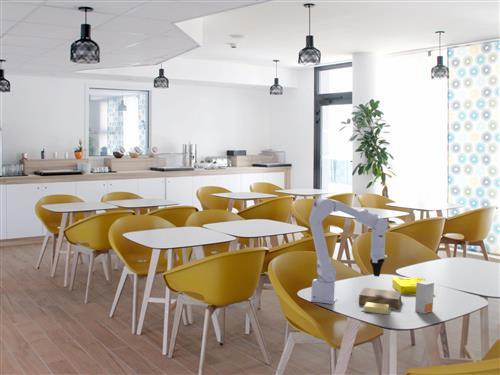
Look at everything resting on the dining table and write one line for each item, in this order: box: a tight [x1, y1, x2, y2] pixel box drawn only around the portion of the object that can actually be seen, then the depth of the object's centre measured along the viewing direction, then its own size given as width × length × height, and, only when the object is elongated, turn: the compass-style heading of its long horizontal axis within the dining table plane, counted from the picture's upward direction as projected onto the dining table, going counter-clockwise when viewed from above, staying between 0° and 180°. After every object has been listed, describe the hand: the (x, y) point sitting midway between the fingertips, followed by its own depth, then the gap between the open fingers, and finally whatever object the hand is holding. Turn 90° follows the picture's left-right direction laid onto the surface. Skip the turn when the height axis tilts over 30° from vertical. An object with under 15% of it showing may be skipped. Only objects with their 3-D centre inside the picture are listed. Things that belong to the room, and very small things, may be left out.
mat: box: [360, 305, 393, 315], centre depth 224 cm, size 11×9×1 cm
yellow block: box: [363, 302, 389, 315], centre depth 222 cm, size 9×6×2 cm, turn 69°
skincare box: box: [414, 280, 435, 314], centre depth 222 cm, size 6×4×12 cm
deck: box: [358, 287, 402, 310], centre depth 234 cm, size 16×12×4 cm
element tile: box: [392, 276, 427, 296], centre depth 254 cm, size 15×15×5 cm
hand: (376, 276), depth 237 cm, fingers closed
